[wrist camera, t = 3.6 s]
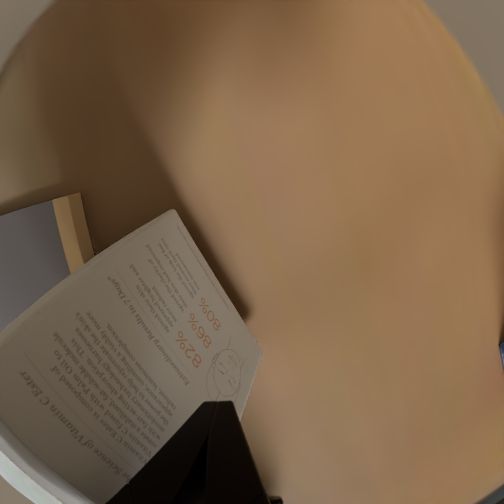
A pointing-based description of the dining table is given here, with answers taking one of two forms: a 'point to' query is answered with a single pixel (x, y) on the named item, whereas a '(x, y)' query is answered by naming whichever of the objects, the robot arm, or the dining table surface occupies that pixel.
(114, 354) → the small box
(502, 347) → the ink cartridge box
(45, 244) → the mat
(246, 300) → the dining table surface
